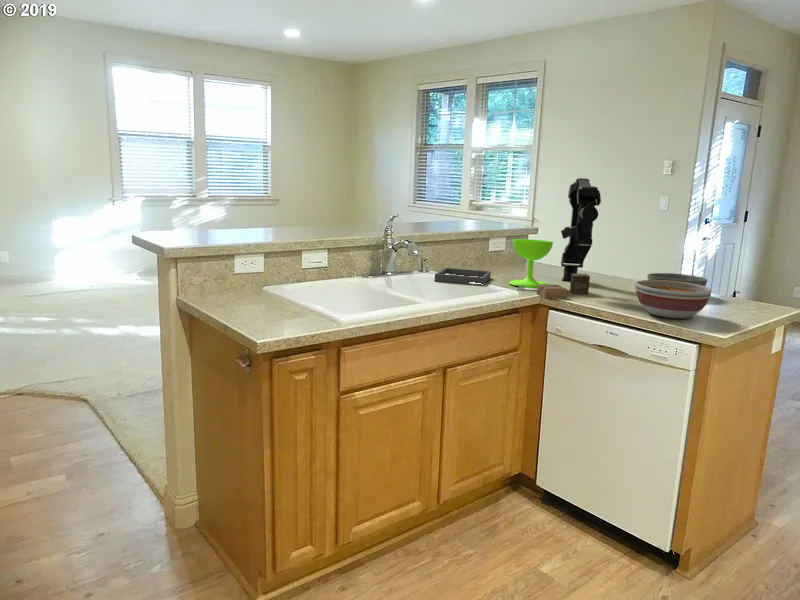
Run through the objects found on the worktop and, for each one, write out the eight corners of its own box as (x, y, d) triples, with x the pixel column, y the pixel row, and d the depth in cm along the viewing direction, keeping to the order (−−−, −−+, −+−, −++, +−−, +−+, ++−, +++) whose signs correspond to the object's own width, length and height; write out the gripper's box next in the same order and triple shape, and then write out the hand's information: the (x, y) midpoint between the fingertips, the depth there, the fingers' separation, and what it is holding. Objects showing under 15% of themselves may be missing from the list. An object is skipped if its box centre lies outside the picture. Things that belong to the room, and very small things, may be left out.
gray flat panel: (520, 285, 246) (520, 284, 246) (555, 288, 242) (555, 287, 242) (517, 289, 236) (517, 288, 236) (554, 293, 233) (554, 291, 232)
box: (585, 292, 238) (587, 273, 236) (588, 295, 232) (590, 276, 230) (569, 291, 238) (571, 272, 237) (572, 294, 232) (574, 275, 231)
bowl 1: (645, 297, 232) (647, 276, 230) (645, 289, 251) (647, 269, 249) (706, 303, 224) (709, 282, 222) (702, 294, 243) (705, 274, 241)
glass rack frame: (445, 274, 267) (445, 267, 267) (490, 278, 262) (490, 271, 261) (434, 281, 248) (434, 274, 248) (483, 285, 243) (483, 278, 242)
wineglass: (504, 281, 254) (508, 238, 251) (541, 282, 256) (545, 240, 253) (515, 286, 238) (519, 240, 235) (554, 288, 240) (559, 242, 237)
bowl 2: (671, 325, 186) (675, 293, 184) (617, 309, 206) (620, 280, 204) (723, 321, 195) (728, 290, 193) (667, 306, 215) (670, 278, 213)
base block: (536, 294, 229) (537, 284, 229) (556, 295, 231) (557, 284, 230) (544, 299, 222) (545, 288, 221) (565, 299, 223) (566, 288, 222)
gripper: (564, 217, 240) (560, 256, 243) (562, 220, 223) (558, 262, 226) (593, 219, 237) (589, 258, 240) (594, 222, 220) (589, 265, 223)
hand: (581, 261), depth 232 cm, fingers open, 9 cm apart
